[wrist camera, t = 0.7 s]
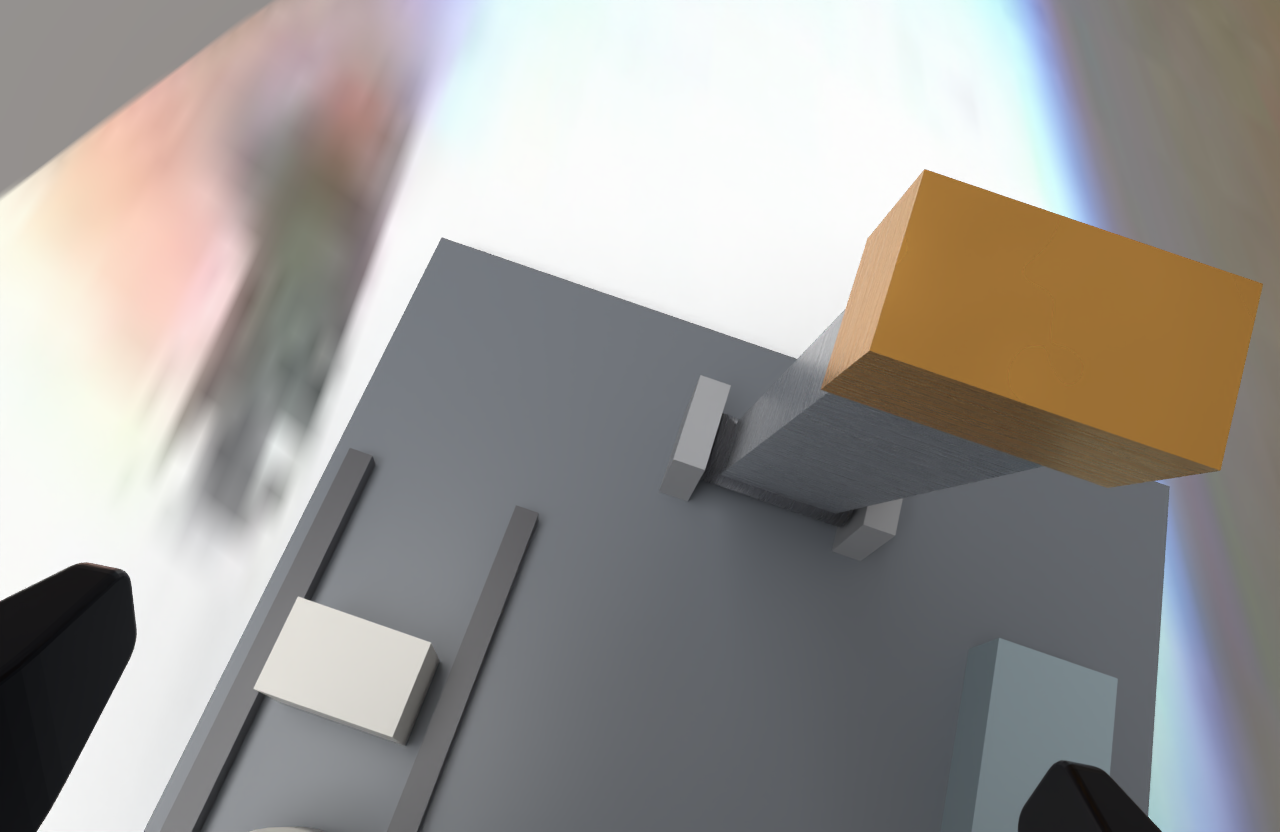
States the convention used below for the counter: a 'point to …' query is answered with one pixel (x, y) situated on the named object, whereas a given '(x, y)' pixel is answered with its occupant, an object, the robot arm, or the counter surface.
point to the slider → (349, 670)
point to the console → (670, 606)
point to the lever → (997, 362)
